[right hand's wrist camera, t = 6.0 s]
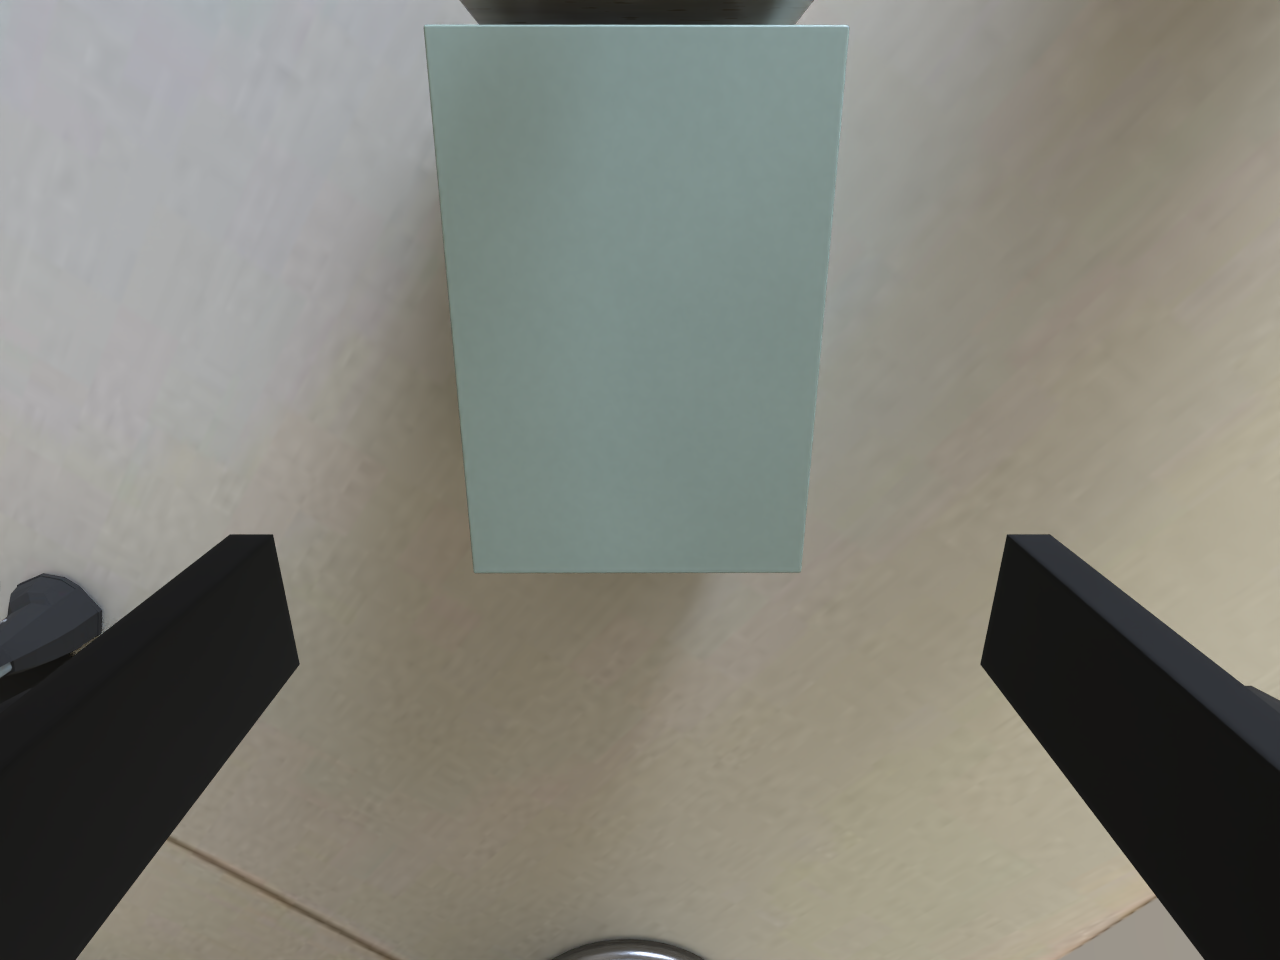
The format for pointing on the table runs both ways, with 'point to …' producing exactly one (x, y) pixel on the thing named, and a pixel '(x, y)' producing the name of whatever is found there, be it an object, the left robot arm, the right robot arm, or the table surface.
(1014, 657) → the right robot arm
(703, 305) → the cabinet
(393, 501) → the table surface
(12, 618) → the robot
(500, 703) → the table surface
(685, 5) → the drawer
